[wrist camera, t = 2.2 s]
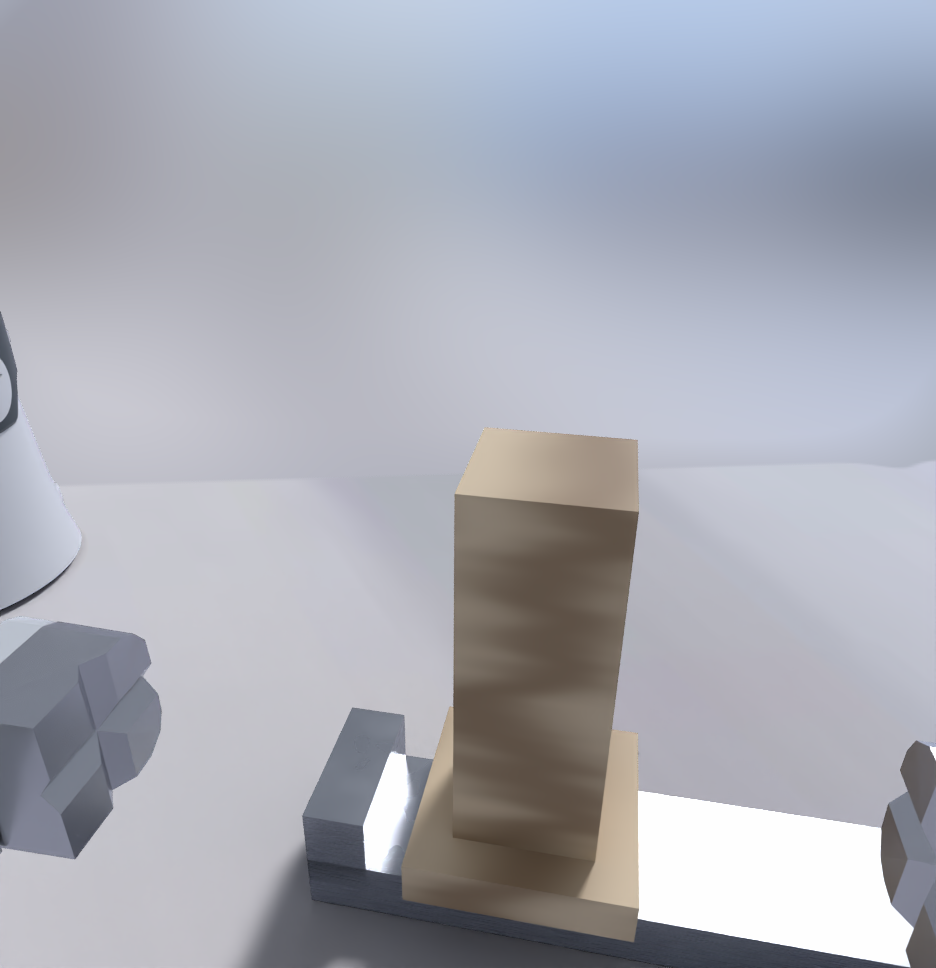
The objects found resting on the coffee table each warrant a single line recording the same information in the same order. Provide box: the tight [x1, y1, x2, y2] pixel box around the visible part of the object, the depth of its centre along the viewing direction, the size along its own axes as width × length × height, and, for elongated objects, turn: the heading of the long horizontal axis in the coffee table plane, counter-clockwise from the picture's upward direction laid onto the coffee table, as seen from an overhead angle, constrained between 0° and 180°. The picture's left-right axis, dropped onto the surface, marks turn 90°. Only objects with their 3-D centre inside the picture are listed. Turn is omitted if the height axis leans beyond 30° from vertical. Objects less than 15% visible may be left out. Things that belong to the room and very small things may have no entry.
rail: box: [302, 708, 914, 968], centre depth 26 cm, size 24×5×4 cm, turn 79°
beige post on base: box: [401, 428, 639, 942], centre depth 23 cm, size 7×7×14 cm
